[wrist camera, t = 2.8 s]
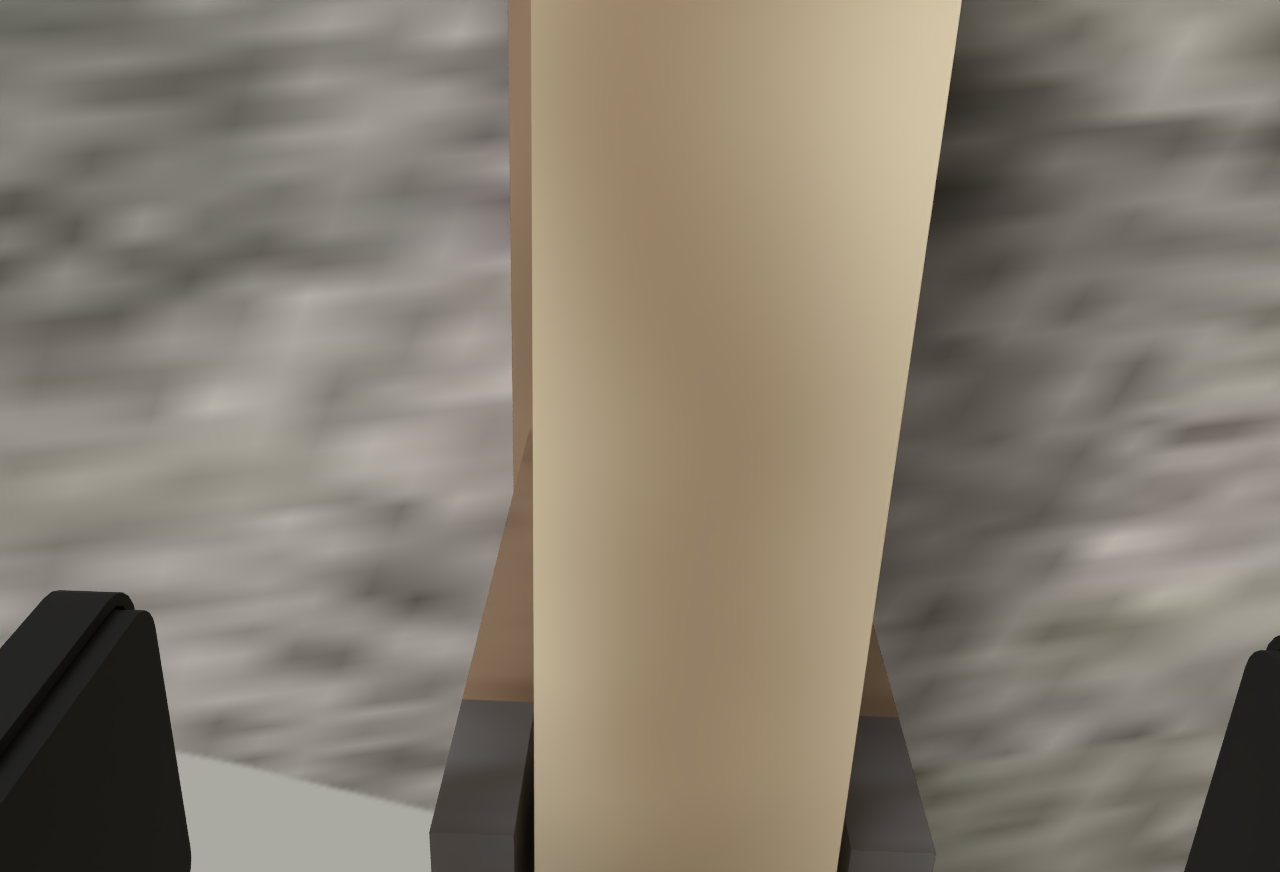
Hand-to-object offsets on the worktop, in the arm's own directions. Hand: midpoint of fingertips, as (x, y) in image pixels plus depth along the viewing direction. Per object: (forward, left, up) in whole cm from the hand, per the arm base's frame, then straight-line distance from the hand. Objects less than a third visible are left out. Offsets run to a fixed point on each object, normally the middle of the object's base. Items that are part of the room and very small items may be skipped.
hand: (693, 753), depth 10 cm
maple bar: (0, 0, -8) cm, 8 cm away
